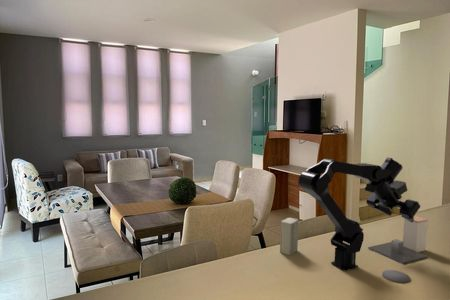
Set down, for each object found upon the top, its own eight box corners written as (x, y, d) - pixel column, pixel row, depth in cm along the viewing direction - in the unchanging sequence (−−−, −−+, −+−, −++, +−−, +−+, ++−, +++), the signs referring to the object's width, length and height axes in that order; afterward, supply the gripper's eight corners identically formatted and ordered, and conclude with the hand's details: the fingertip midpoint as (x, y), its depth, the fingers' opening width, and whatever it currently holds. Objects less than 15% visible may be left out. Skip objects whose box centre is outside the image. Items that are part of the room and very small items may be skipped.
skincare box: (287, 247, 135) (288, 216, 133) (298, 250, 132) (299, 219, 130) (279, 252, 130) (280, 220, 128) (289, 255, 127) (290, 223, 126)
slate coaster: (398, 285, 106) (398, 283, 106) (376, 274, 113) (376, 272, 113) (415, 279, 109) (415, 278, 109) (393, 269, 117) (393, 268, 117)
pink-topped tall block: (415, 252, 131) (417, 221, 129) (402, 247, 136) (404, 217, 134) (425, 250, 133) (427, 219, 132) (412, 245, 138) (414, 215, 137)
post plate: (403, 264, 121) (403, 251, 120) (368, 248, 134) (368, 237, 134) (427, 257, 126) (428, 245, 126) (391, 243, 140) (392, 232, 139)
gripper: (419, 178, 117) (437, 207, 123) (373, 170, 134) (391, 196, 140) (401, 203, 114) (420, 232, 120) (357, 191, 131) (376, 217, 137)
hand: (401, 218), depth 129 cm, fingers open, 9 cm apart
